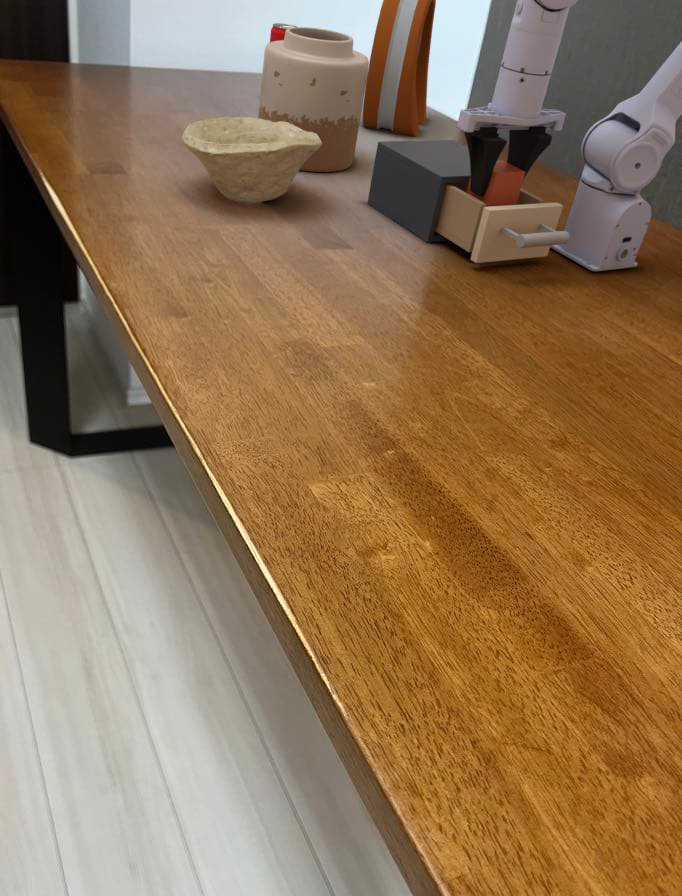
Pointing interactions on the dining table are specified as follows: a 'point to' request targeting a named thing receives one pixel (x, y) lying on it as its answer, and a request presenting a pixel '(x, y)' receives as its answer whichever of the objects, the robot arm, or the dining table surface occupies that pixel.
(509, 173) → the block
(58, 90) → the dining table surface
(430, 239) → the cabinet
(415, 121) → the orange striped bag
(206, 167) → the bowl
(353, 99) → the vase
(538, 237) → the drawer
